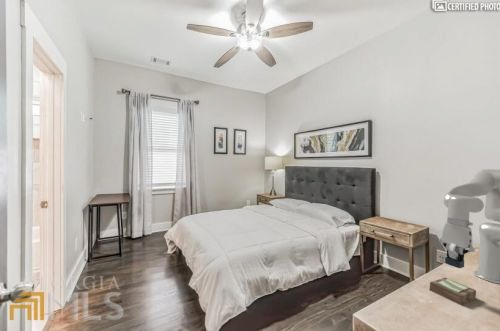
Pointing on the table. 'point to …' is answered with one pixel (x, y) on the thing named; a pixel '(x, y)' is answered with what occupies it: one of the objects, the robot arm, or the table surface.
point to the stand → (453, 290)
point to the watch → (454, 257)
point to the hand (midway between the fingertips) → (454, 259)
